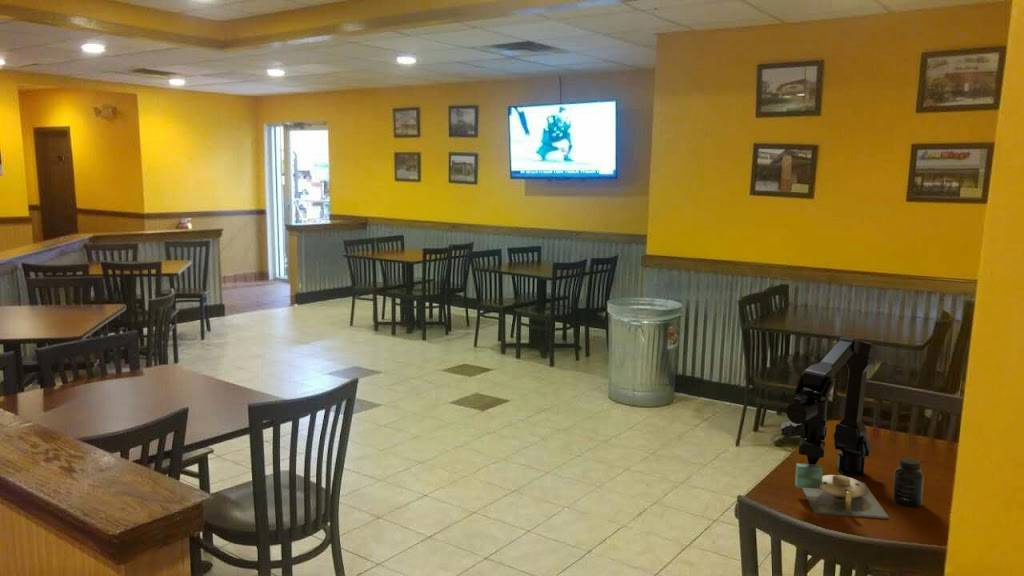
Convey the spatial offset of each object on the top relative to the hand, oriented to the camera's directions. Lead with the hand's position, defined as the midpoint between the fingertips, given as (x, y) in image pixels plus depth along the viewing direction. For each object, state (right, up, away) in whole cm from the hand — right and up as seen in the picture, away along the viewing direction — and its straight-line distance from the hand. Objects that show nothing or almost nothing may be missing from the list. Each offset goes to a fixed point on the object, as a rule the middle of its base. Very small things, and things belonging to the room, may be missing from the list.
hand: (811, 468), depth 202 cm
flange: (+4, -5, -2) cm, 7 cm away
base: (+7, -8, -2) cm, 11 cm away
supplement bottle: (+24, -8, -5) cm, 26 cm away
